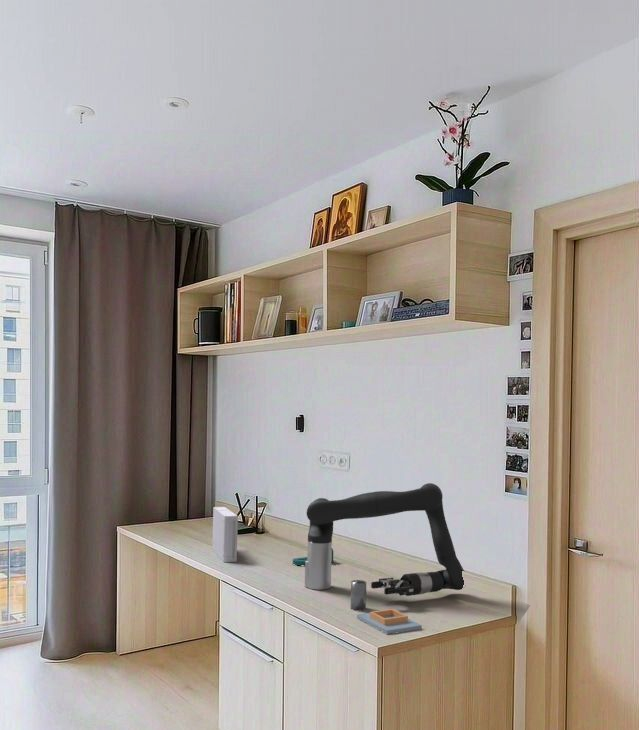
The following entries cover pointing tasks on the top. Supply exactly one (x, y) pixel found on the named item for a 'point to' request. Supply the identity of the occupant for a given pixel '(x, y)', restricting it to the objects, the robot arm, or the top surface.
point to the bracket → (304, 560)
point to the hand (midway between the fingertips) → (378, 588)
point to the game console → (225, 534)
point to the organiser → (389, 621)
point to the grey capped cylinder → (358, 595)
